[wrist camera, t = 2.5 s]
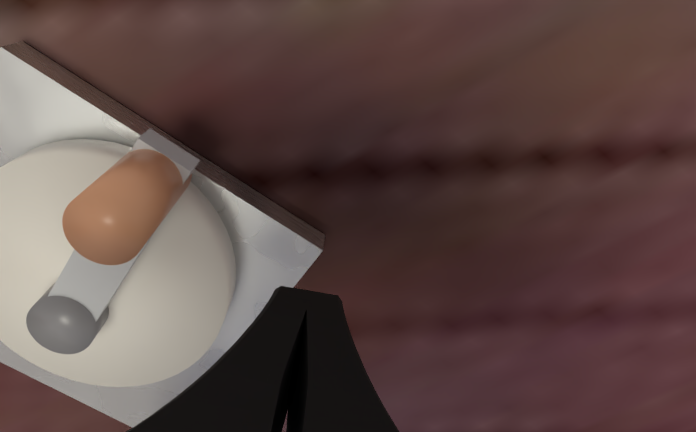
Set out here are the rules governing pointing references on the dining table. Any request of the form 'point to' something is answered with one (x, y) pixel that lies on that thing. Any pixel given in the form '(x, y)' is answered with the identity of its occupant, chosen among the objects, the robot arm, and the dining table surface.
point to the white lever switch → (111, 261)
